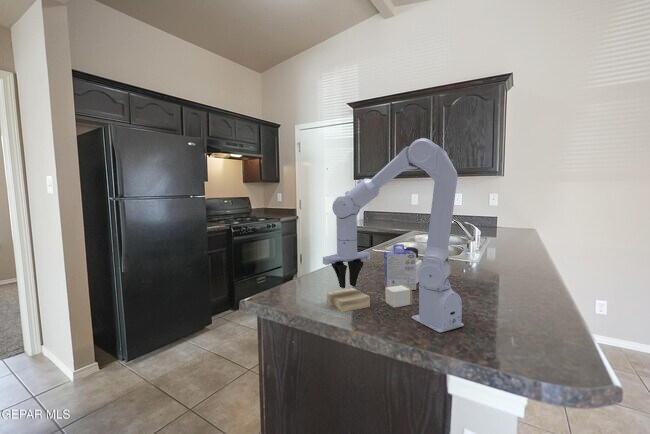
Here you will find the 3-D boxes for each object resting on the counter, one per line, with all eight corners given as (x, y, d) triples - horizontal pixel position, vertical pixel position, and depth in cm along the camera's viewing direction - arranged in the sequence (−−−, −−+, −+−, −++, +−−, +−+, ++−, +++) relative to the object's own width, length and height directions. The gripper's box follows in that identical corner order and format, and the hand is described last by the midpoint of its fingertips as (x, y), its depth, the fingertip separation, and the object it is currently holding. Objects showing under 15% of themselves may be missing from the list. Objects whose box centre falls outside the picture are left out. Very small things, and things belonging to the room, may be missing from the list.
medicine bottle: (422, 279, 111) (422, 247, 111) (416, 284, 105) (416, 250, 105) (402, 277, 115) (402, 245, 114) (396, 281, 109) (396, 248, 108)
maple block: (369, 306, 85) (369, 296, 85) (341, 312, 82) (341, 301, 81) (353, 297, 94) (353, 287, 93) (326, 302, 90) (326, 292, 89)
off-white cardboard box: (393, 308, 85) (412, 304, 86) (393, 291, 84) (412, 289, 86) (385, 302, 89) (403, 299, 91) (385, 287, 89) (403, 284, 90)
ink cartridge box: (412, 285, 105) (412, 243, 104) (417, 290, 99) (417, 246, 98) (383, 285, 105) (383, 244, 104) (386, 291, 99) (386, 246, 98)
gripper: (360, 235, 93) (361, 279, 94) (317, 239, 87) (318, 286, 88) (374, 238, 87) (374, 285, 88) (328, 242, 80) (329, 293, 81)
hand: (347, 286), depth 87 cm, fingers open, 3 cm apart
